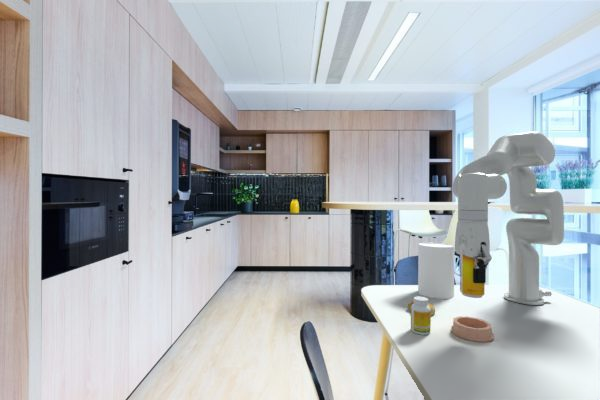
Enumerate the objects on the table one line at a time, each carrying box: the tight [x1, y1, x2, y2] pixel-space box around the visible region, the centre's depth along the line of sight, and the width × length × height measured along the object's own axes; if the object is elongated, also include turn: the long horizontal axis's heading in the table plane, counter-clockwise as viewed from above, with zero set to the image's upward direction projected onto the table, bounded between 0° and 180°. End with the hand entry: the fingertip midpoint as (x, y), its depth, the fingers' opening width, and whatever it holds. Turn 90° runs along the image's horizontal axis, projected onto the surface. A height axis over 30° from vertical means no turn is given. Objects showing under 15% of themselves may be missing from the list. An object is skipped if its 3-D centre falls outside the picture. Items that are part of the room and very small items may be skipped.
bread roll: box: [407, 299, 436, 316], centre depth 107 cm, size 8×9×4 cm
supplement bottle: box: [410, 295, 432, 336], centre depth 91 cm, size 5×5×10 cm
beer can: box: [459, 244, 486, 299], centre depth 89 cm, size 6×6×15 cm
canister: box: [417, 242, 455, 300], centre depth 129 cm, size 14×14×20 cm
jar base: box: [450, 316, 495, 343], centre depth 90 cm, size 11×11×3 cm
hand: (472, 279), depth 90 cm, fingers closed on beer can, 6 cm apart
